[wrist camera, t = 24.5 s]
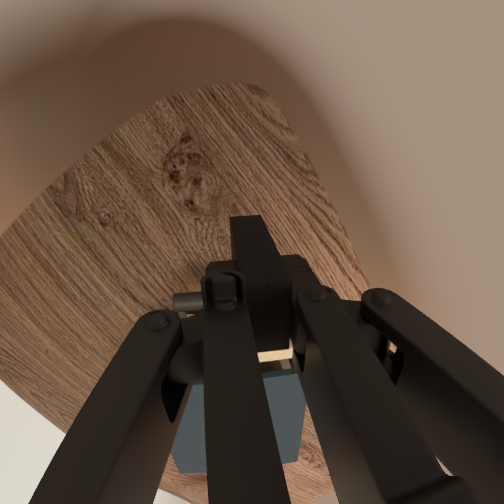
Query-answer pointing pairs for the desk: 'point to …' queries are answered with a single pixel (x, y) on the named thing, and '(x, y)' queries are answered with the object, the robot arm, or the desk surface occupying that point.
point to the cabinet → (282, 413)
